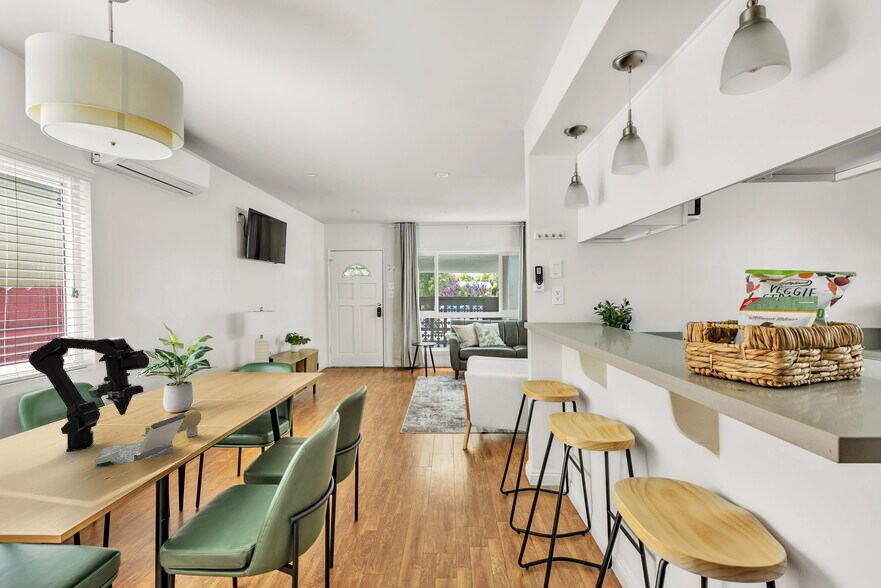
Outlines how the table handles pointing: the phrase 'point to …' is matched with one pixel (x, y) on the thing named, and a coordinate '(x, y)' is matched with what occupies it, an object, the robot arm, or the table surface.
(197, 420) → the light bulb
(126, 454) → the panel
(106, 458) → the rocker
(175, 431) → the beige square plate
